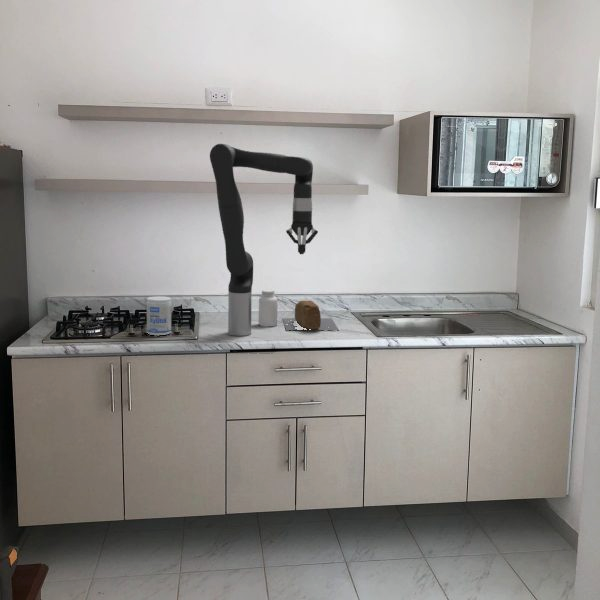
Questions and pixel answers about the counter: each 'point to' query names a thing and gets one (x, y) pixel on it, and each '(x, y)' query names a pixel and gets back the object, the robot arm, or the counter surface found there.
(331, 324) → the mat
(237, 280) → the robot arm
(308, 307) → the brown rounded chunk
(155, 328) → the supplement tub
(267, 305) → the pill bottle
